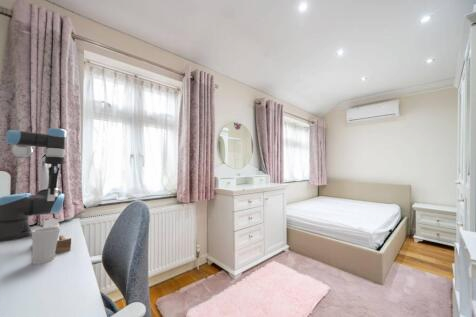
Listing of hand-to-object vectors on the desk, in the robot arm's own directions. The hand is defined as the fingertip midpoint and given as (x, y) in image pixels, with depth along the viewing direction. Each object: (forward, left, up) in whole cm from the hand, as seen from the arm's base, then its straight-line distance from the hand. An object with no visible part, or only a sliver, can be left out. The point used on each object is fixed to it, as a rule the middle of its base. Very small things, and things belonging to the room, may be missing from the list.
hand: (50, 200), depth 103 cm
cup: (+33, -4, -21) cm, 39 cm away
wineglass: (+9, 0, -21) cm, 22 cm away
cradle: (+15, 0, -20) cm, 25 cm away
